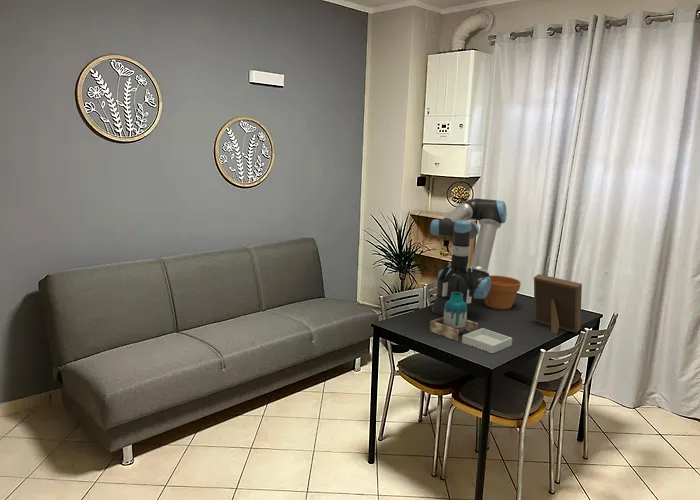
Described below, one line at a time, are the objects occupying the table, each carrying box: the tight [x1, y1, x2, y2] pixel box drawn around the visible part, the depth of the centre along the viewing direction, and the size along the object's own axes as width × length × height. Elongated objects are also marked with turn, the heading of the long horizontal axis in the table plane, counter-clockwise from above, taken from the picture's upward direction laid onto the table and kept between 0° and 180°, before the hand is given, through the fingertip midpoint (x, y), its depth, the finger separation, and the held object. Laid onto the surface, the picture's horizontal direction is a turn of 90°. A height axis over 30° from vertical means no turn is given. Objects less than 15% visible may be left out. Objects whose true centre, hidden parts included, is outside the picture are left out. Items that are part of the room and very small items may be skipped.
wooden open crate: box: [429, 316, 479, 342], centre depth 248 cm, size 16×16×5 cm
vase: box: [443, 292, 468, 334], centre depth 246 cm, size 11×11×19 cm
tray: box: [461, 327, 513, 354], centre depth 235 cm, size 16×16×4 cm
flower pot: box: [483, 274, 522, 310], centre depth 292 cm, size 21×21×15 cm
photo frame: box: [533, 273, 583, 335], centre depth 257 cm, size 15×22×25 cm
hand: (456, 299), depth 244 cm, fingers open, 13 cm apart
